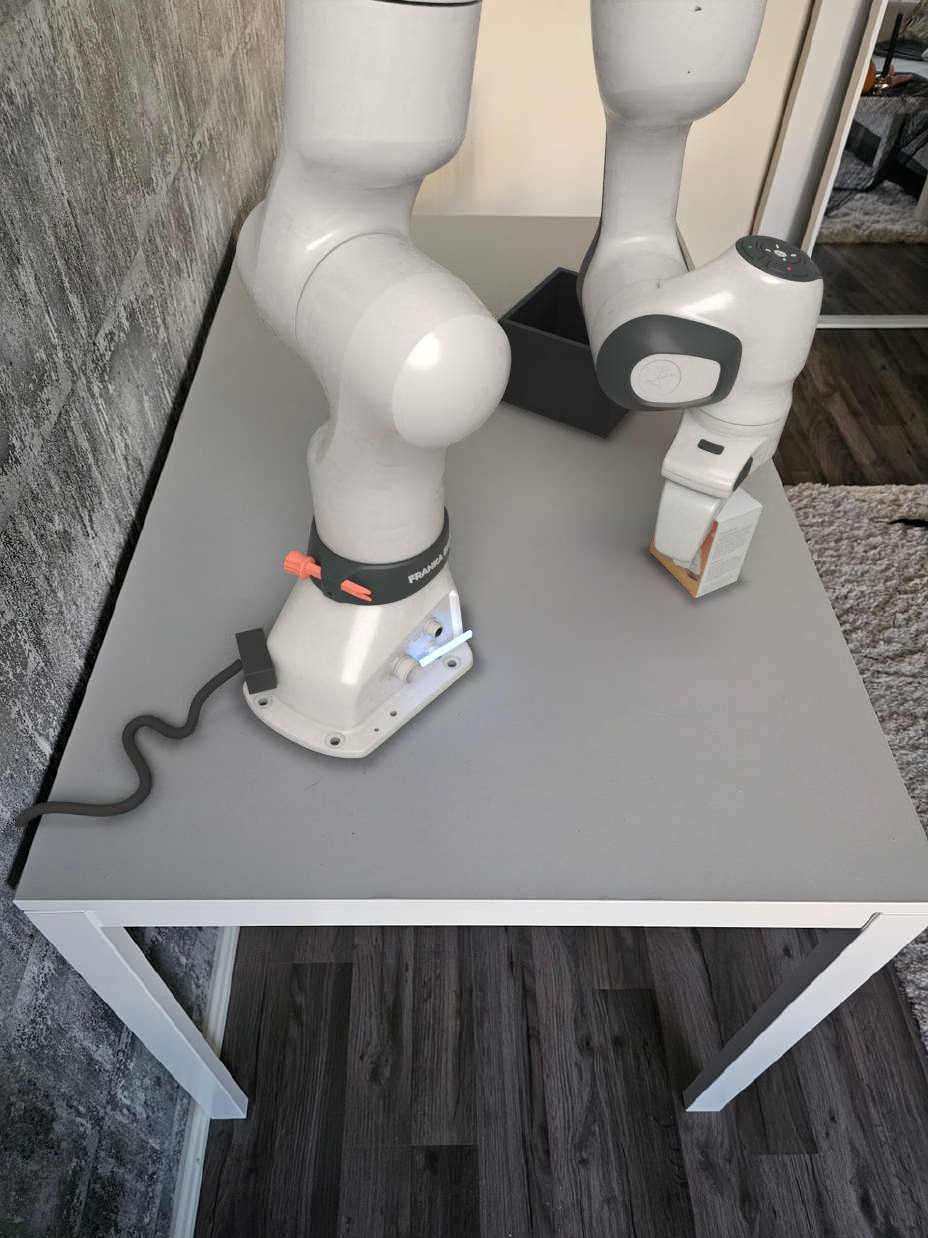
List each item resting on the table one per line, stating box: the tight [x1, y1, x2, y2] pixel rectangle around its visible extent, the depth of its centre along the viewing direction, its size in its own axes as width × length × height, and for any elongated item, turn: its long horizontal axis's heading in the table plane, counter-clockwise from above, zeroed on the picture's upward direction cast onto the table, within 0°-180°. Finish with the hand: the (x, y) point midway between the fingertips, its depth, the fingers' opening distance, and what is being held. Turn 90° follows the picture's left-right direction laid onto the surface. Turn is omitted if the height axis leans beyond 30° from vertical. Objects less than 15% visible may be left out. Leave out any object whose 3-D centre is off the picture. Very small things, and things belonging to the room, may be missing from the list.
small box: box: [649, 485, 764, 599], centre depth 91 cm, size 8×6×10 cm
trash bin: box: [497, 266, 631, 439], centre depth 113 cm, size 16×16×11 cm
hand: (699, 536), depth 92 cm, fingers closed on small box, 7 cm apart
